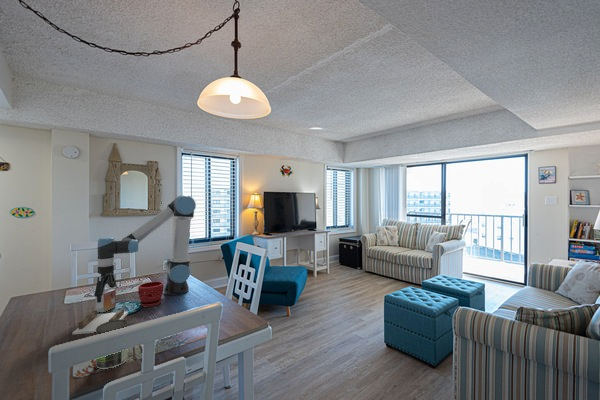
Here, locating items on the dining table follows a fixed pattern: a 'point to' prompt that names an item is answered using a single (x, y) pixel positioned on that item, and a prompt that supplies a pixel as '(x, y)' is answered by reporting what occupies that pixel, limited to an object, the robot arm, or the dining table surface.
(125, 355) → the coffee can
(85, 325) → the holder
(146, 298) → the plant pot
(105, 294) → the small box
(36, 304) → the dining table surface
